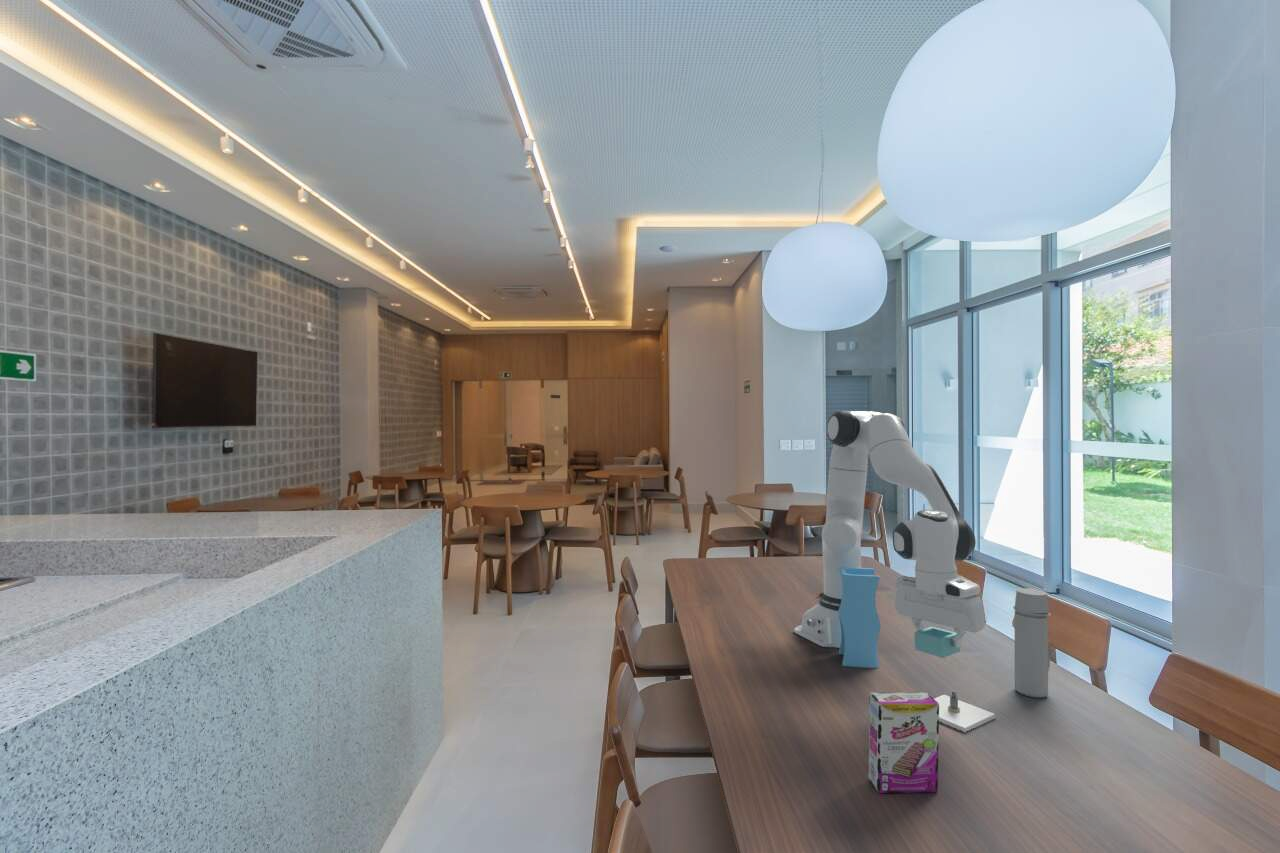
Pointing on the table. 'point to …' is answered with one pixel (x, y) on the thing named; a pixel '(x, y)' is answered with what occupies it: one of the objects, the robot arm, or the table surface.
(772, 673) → the table surface
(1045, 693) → the water bottle
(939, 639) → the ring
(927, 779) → the candy bar box
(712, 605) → the table surface
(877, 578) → the vase
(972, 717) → the post stand
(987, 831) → the table surface
